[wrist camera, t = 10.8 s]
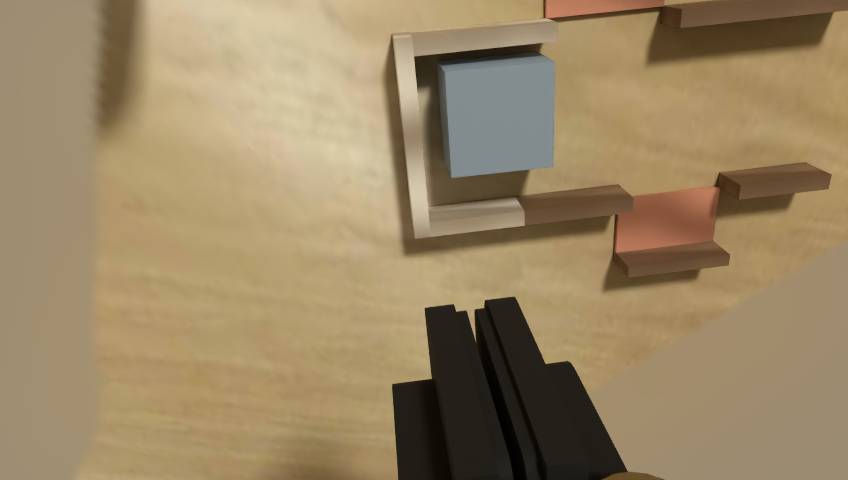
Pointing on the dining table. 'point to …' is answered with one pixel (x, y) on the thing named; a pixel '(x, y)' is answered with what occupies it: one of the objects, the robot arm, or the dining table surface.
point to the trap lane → (635, 216)
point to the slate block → (497, 113)
